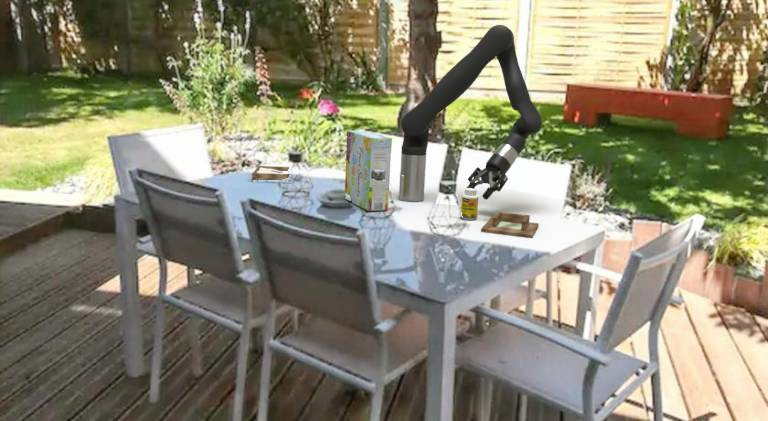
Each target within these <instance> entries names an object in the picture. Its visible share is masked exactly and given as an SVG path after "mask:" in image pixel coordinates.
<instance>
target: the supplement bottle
mask: <svg viewBox="0 0 768 421" xmlns="http://www.w3.org/2000/svg"><path fill="white" fill-rule="evenodd" d="M460 202H461V203H460V204H461V206H460V213H461V212H462V216H463V218H464V219H463V220H466V221H475V220H476V219H477V218H478V208H479V195H478V194H477V189H476V188H474V189H473V188H467V187H466V188H464V193H462V195H461V201H460Z"/></svg>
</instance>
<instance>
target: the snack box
mask: <svg viewBox="0 0 768 421" xmlns="http://www.w3.org/2000/svg"><path fill="white" fill-rule="evenodd" d="M392 142H393V138H392V137H390V136H386V135H383V134H380V133H375V132H373V131H368V130H347V131H346V150H345V152H346V154H345V178H344V179H345V180H344V193H345V192H346V193H347V194H348V195H350V197H351V201H352V203H351V204H353V205H356V206H358V207H359V208H362V209H363V210H365V211H368V212H382V211H388V210H389V196H390V195H389V193H390V192H389V191H390V178H391V176H390V175H391V174H390V173H391V161H392V160H391V159H392V157H391V156H392V155H391V154H392ZM374 169H380V170H386V181H375V180H373V179H372V178H371V171H372V170H374Z"/></svg>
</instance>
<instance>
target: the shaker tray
mask: <svg viewBox="0 0 768 421" xmlns="http://www.w3.org/2000/svg"><path fill="white" fill-rule="evenodd" d="M260 167H261V168H267V169H274V170H278V171H288V169H289V167H290V166H274V165H273V166H271V165H269V166H268V165H258V166H257V167H256V169H255V170H254V171H253V172H252V175H251V178H252V179H251V181H252V180H257V181H258V180H282V179H285V178H288V177H289V175H290V174H271V173H257V171H259V169H260Z"/></svg>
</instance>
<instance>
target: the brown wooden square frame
mask: <svg viewBox="0 0 768 421" xmlns="http://www.w3.org/2000/svg"><path fill="white" fill-rule="evenodd" d="M530 216H531V215H529V214H521V213H520V214H519V213H513V212H503V211H497V213H495V215H493V217H490V218H489V219H488V220H487V222H485V224H484V225H483V226H482V228H481V229H480V233H486V234H487V233H489V234H497V235H504V236H513V237H521V238H526V239H527V238H529V239H532V238H533V237H534V235H535V234H536V231H537V229H538V228H539V225H540V224H539V222H537V223H536V222H531V221H530V219H531V218H530Z"/></svg>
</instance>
